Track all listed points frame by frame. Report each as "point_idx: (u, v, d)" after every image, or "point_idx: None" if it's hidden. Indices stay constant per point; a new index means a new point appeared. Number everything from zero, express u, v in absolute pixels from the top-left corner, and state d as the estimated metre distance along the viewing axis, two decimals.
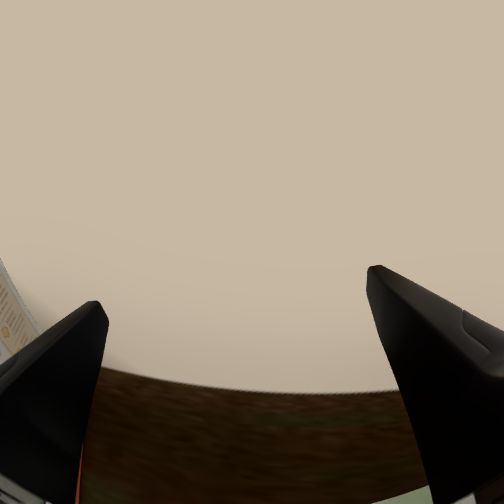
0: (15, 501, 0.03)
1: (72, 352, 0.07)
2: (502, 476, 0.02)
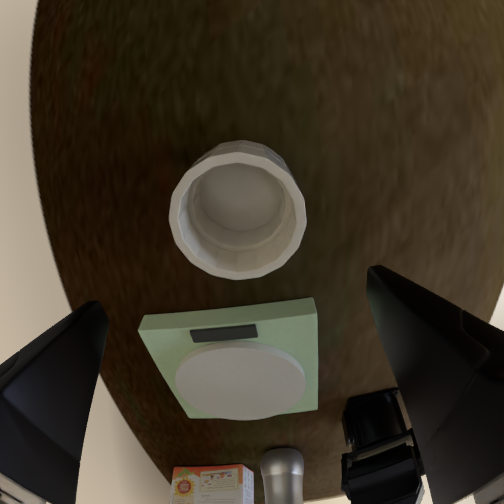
0: (15, 501, 0.03)
1: (72, 352, 0.07)
2: (502, 476, 0.02)
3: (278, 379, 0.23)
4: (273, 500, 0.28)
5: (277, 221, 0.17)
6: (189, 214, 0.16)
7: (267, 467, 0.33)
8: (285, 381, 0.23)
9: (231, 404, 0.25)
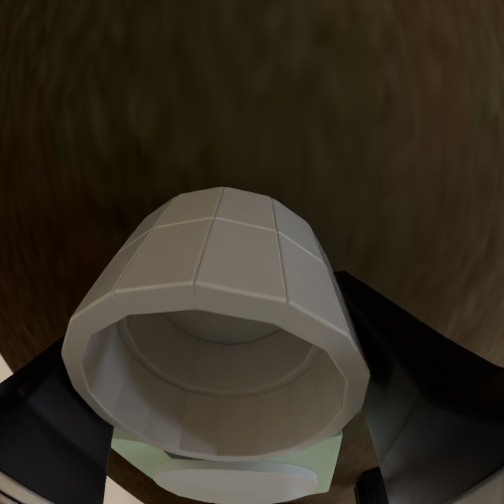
0: None
1: None
2: (453, 503, 0.02)
3: (283, 486, 0.15)
4: None
5: (294, 348, 0.09)
6: (125, 345, 0.08)
7: None
8: (292, 486, 0.15)
9: (225, 497, 0.17)
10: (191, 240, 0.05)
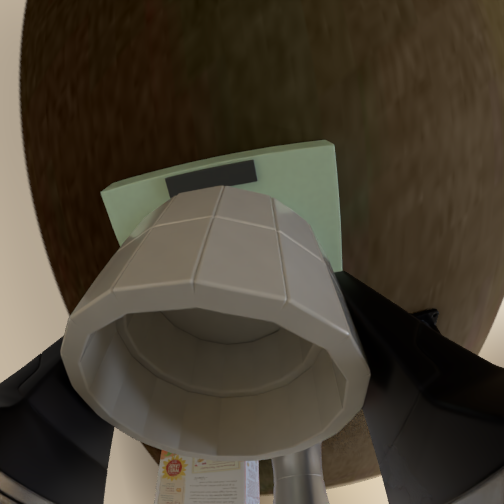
0: None
1: None
2: (453, 503, 0.02)
3: None
4: (284, 477, 0.23)
5: (294, 347, 0.09)
6: (124, 344, 0.08)
7: None
8: None
9: None
10: (191, 238, 0.05)
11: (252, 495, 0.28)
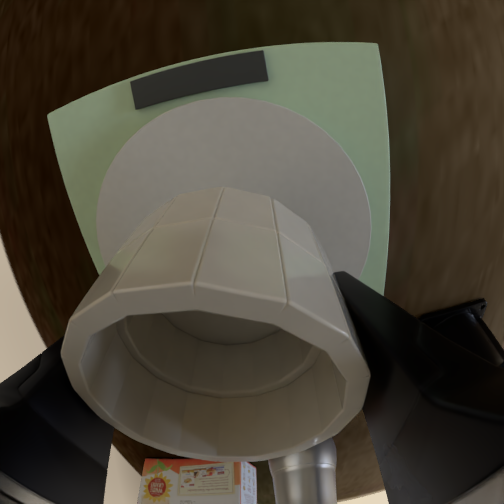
0: None
1: None
2: (453, 503, 0.02)
3: (315, 207, 0.11)
4: None
5: (294, 348, 0.09)
6: (124, 345, 0.08)
7: (280, 457, 0.21)
8: (330, 216, 0.11)
9: None
10: (191, 240, 0.05)
11: None
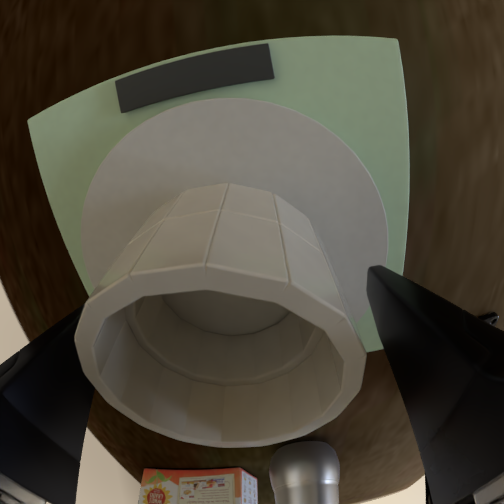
0: (15, 501, 0.03)
1: (72, 352, 0.07)
2: (502, 476, 0.02)
3: (327, 226, 0.09)
4: None
5: (295, 336, 0.09)
6: (133, 333, 0.08)
7: (282, 473, 0.19)
8: (344, 235, 0.10)
9: None
10: (200, 229, 0.06)
11: None
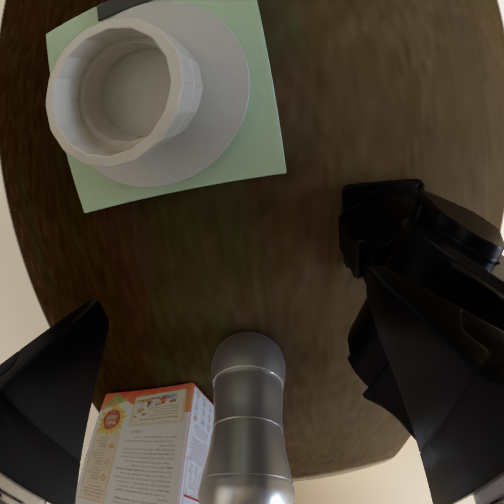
0: (15, 501, 0.03)
1: (72, 352, 0.07)
2: (502, 476, 0.02)
3: (202, 55, 0.13)
4: (223, 420, 0.18)
5: None
6: (79, 110, 0.12)
7: (219, 361, 0.23)
8: (213, 60, 0.13)
9: None
10: None
11: (198, 460, 0.23)
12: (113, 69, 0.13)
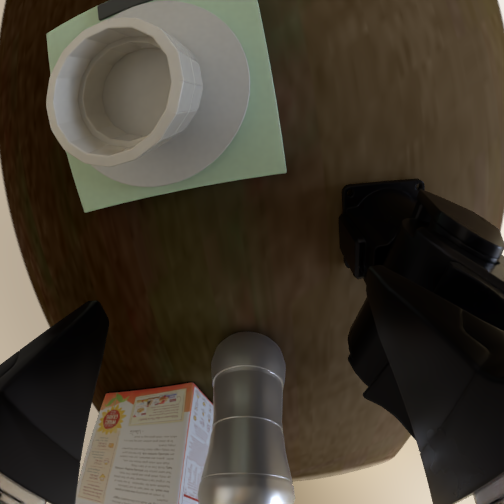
0: (15, 501, 0.03)
1: (72, 352, 0.07)
2: (502, 476, 0.02)
3: (202, 55, 0.13)
4: (223, 420, 0.18)
5: None
6: (79, 110, 0.12)
7: (219, 361, 0.23)
8: (214, 59, 0.13)
9: None
10: None
11: (197, 460, 0.23)
12: (113, 68, 0.13)
